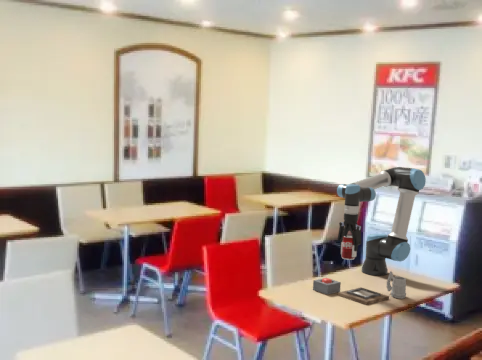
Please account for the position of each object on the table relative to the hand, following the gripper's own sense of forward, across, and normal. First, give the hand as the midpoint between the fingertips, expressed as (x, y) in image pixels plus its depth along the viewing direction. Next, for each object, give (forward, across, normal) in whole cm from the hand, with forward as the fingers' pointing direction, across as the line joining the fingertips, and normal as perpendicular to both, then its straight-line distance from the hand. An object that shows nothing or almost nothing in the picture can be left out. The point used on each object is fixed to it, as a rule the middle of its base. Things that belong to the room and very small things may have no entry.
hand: (348, 255), depth 315 cm
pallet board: (+17, +18, -7) cm, 25 cm away
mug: (+17, +24, +10) cm, 32 cm away
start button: (+16, 0, -15) cm, 22 cm away
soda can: (+2, 0, 0) cm, 2 cm away
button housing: (+17, 0, -15) cm, 23 cm away
